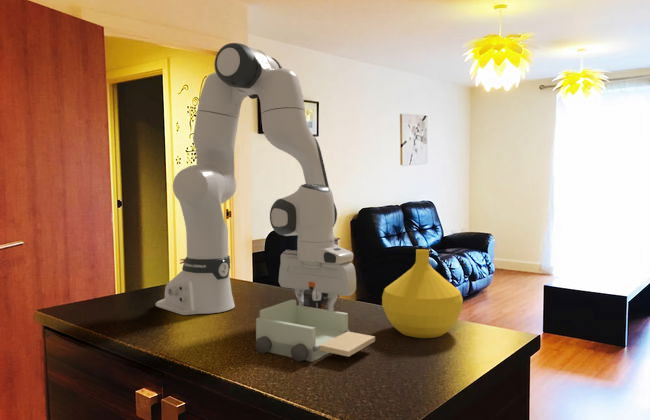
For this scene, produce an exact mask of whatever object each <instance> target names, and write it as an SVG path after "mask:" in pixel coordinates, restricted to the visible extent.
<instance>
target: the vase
mask: <svg viewBox="0 0 650 420" xmlns="http://www.w3.org/2000/svg"><path fill="white" fill-rule="evenodd" d="M381 300H382V301H381V305H382V308H383V311H384V313H385V315H386V318H387V320H389V322H390V324H391V325H392V327H394V329H395V330H396V331H398V332H399V333H400V334H402V335H403V336H406V337H412V338H417V339H418V338H419V339H432V338H434V339H435V338H438V337H441V336H444V334H446V333H448V332H449V331H450V330H451V329H452V328H453V327H454V325H455V324H456V323H457V322H458V319H459V317H460V316H461V313H462V310H463V308H464V306H463V304H464V303H463V302H464V299H463V295H462V293H461V290H460V289H458V288H457V287H456V286H454V285H453V284H452V283H451V282H449V281H448V280H447V279H446V278H444V277H443V276H442V275H441V273H439V272H438V271H436V270H435V269H434V268H433V267H432V265H431V264H430V250H429V249H424V248H423V249H422V248H421V249H415V262H414V264H413V266H411V268H410V269H408V270H407V271H406V272H405V273H403V274H402V275H401V276H399V277H398V278H397V279H396V280H394V281H393V282H391V283H390V284H389V285H387V286H386V287H385V288H384V289H383V292H382V296H381Z"/></svg>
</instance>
